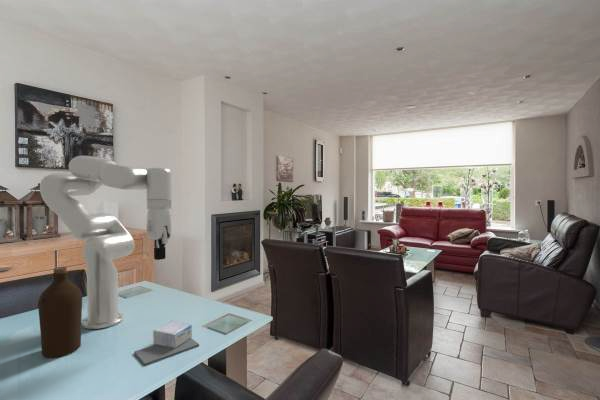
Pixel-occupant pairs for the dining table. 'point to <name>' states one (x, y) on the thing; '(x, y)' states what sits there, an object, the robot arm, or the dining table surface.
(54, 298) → the olive oil
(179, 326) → the medicine box
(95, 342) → the dining table surface
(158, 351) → the mat
